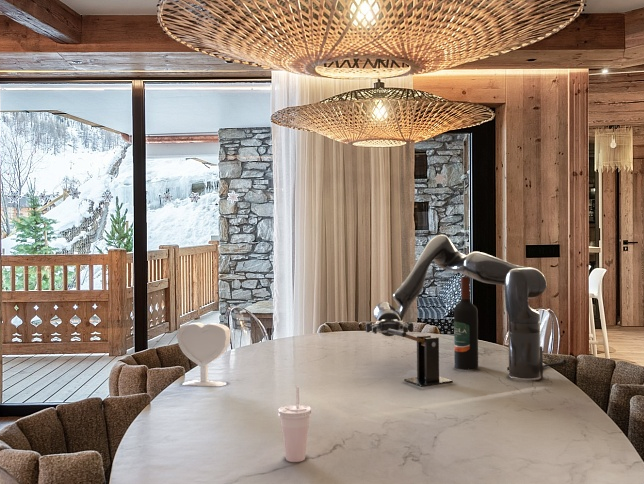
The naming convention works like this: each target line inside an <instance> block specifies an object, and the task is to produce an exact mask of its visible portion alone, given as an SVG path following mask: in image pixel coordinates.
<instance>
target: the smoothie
mask: <svg viewBox="0 0 644 484" xmlns="http://www.w3.org/2000/svg"><path fill="white" fill-rule="evenodd" d="M311 415H312V407H310V406H309V405H305V404H300V387H299V386H296V387H295V404H288V405H284V406H281V407H279V408H278V417H280V424H281V425H280V426H281V430H282V440H283V447H284V455H285V460H286V461H287V462H290V463H300V462H303V461H305V460H306V452H307V444H308V434H309V427H310V426H309V425H310V418H311V417H310V416H311Z"/></svg>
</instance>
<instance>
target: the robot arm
mask: <svg viewBox="0 0 644 484" xmlns="http://www.w3.org/2000/svg"><path fill="white" fill-rule="evenodd" d="M432 262H433V263H434V264H435V265H436V266H437V267H438V268H440V269H443V270H446V271H451V272H456V273H459V274H461V275H464V276H465V277H470V279H473V280H476V281H478V282H481V283H484V284H490V285H499V286H503V287H504V288H503V289H504V304H505V305H504V306H505V312H506V314H507V320H508V322H507V327H508V328H507V330H508V335H507V336H508V339H507V340H508V366H507V367H506V371H508V377H509V378H511V379H515V380H523V381H524V380H525V381H531V382H532V381H533V382H537V381H540V380H541V379H543V378H544V369H545V368H546V367H552V366H560V365H563V364H564V363H566V359H565V358H564V357H562V359H561V361H559V362H552V363H546V364H544V363H543V361H544V357H543V354H544V353H543V352H544V351H543V349H544V348H543V346H542V345H541V317H540V315H541V314H540V312H539V311H537V310H535V309H533V308H532V307H530V304H529V299H535V298H538V297H540V296H542V295H544V293H545V292H546V290H547V287H548V286H547V285H548V283H547V279H546V277H545V276H544V274H543V273H542V272H541V271H540V270H539V269H537V268H534V267H529V266H522V265H517V264H513V263H512V262H509V261H505V260H503V259H500V258H498V257H495V256H493V255H490V254H488V253H485V252H480V251H473V252H469V253H468V254H465V253H464V254H463V253H461V252H460V251H458V249H457V248H456V246H455V245H454V244H453V242H452V241H451V239H450V238H449V237H448V236H447V235H445V234H438V235H436V236H434V237H433V238H431V239H430V240H429V241H428V243H427V244H426V246H425V247H424V249H423V251H422V252H421V254H420V256H419V257H418V259H417V260H416V262H415V263H414V266H413V268H411V271H410V272H409V274H408V275H407V277H406V278H405V279H404V280H403V282H402V283H401V284H400V285H399V286H398V287H397V289H396V290H395V291H394V293H393V294H392V299H393V301H394V302H395V304H396V305H397V307H398V310H397V309H396V308H395V307H394V306H392V304H391V303H389V302H387V301H381V302H379V303H377V305H376V306H375V307H374V309H373V311H372V317H373V318H374V320H376V321H375V322H373V321H370V320H368V321H366V323H365V332H366V333H373V334H375V335H376V334H382V335H383V336H385V337H393V336H395V335H393V334H389V333H388V332H387V331H388V329H394V330H398V331H402V332H406V333H408V332H410V333H413V332H414V322H413V321H412V320H407V321H406V322H404V318H405V316H406V314H407V312H408V310H409V308H410V306H411V305H412V304H413V303H414V301H415V300H416V299H417V298H418V296H419V295H420V294H421V292H422V290H423V288H424V285H425V281H426V277H427V273H428V270H429V268H430V265H431V264H432Z"/></svg>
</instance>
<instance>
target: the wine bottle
mask: <svg viewBox="0 0 644 484" xmlns="http://www.w3.org/2000/svg"><path fill="white" fill-rule="evenodd" d="M460 297H461V298H460V302H459V303H458V304H457V305H456V306H455V307H454V309H453V336H454V337H453V339H454V341H453V343H454V344H453V349H454V353H453V355H454V368H455V369H458V370H463V371H464V370H466V371H471V370H477V369H478V368H479V314H478V313H479V311H478V308H477V306H476V305H475V304H473V302H472V301H471V277H469V276H461V277H460Z"/></svg>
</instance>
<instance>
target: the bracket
mask: <svg viewBox="0 0 644 484" xmlns="http://www.w3.org/2000/svg"><path fill="white" fill-rule="evenodd" d="M416 337H417V338H420V339H423V337H424V339H425V346H422V345H421V342H418V341H416V377H408V378H404V379H403V381H404V382H406V383H409V384H410V385H411V384H412V385H414V386H416V387H419V388H424V387H425V388H426V387H432V386H437V385H438V386H439V385H445V384H451V383H453V380H452V379H449V378H446V377H443V376H440V336H433V337H432V335H430V334H426V335H417V336H416Z"/></svg>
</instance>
